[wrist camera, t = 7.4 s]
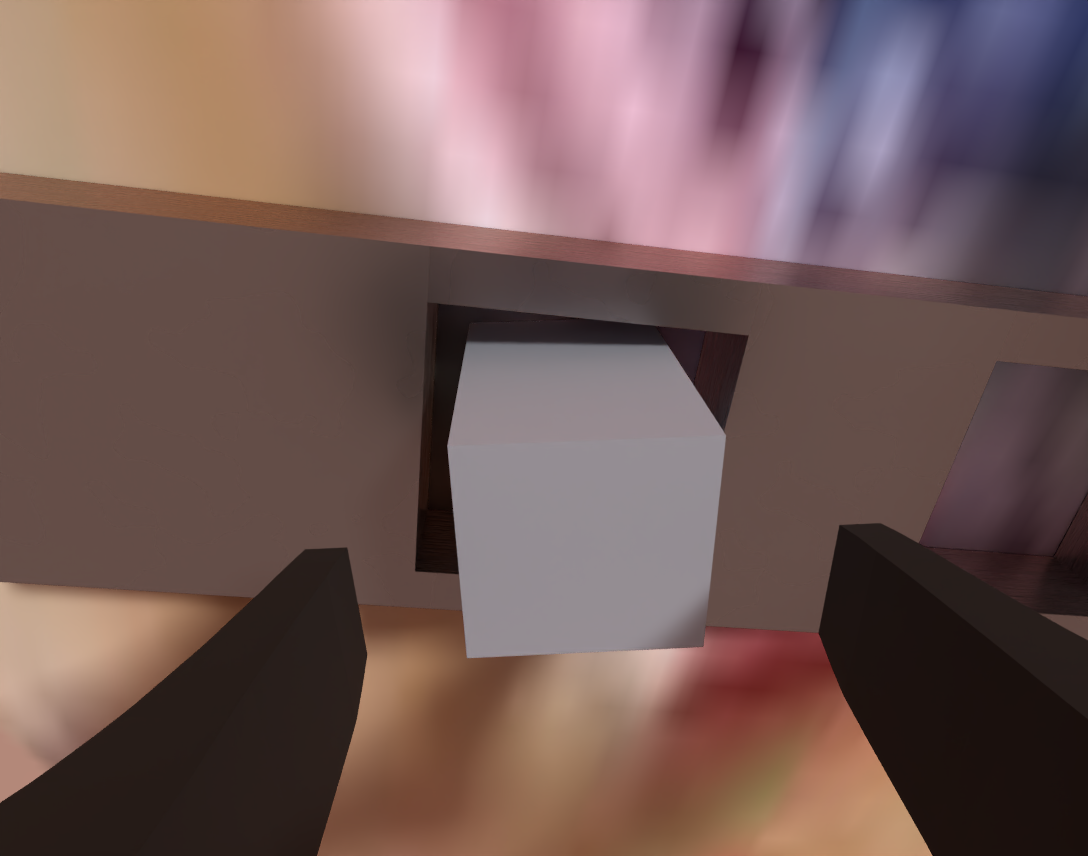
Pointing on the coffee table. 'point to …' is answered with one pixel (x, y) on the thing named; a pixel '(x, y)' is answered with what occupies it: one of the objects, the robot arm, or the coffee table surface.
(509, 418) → the peg
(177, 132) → the coffee table surface
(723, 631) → the coffee table surface
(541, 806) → the coffee table surface
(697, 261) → the rail
